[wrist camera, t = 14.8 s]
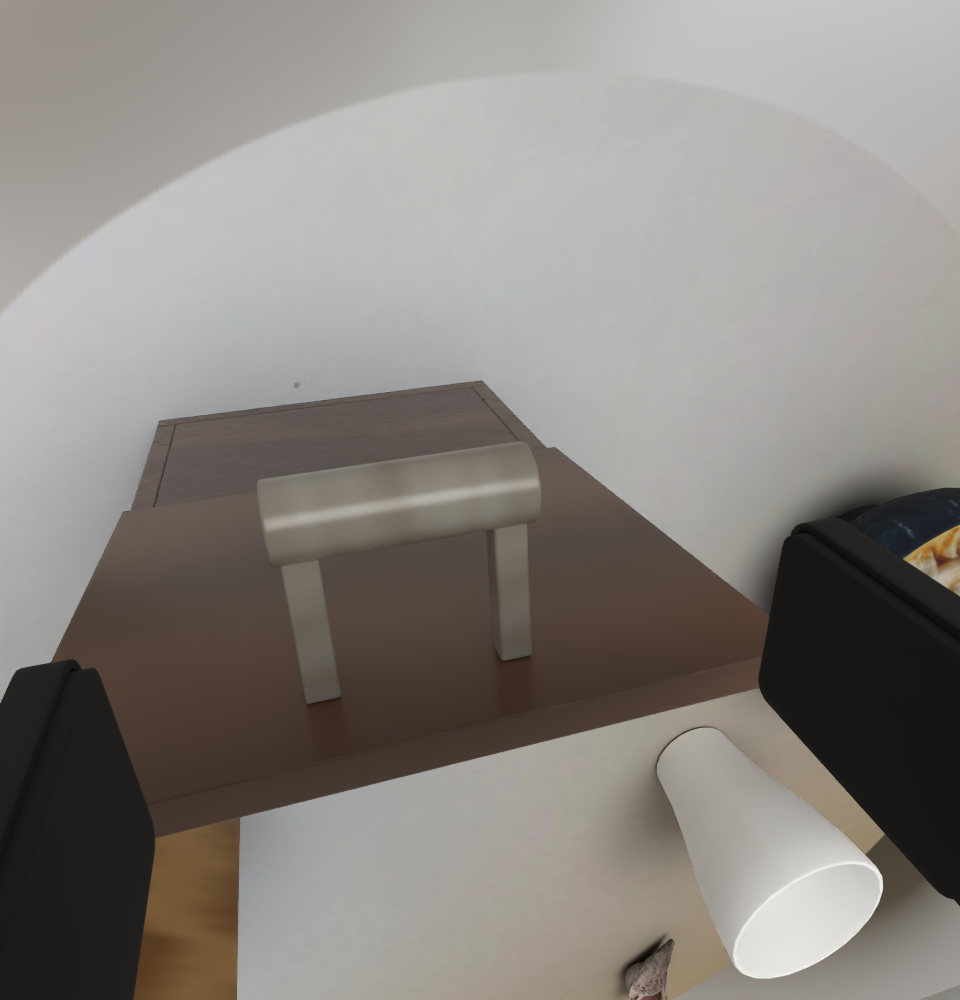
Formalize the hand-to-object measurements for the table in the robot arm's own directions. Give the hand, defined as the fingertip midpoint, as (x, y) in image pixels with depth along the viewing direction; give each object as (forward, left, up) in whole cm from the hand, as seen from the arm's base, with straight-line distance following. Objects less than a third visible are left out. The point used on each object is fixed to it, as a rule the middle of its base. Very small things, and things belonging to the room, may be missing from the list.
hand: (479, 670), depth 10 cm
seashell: (+51, -42, -27) cm, 71 cm away
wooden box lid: (+2, -4, -9) cm, 10 cm away
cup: (+39, -19, -27) cm, 51 cm away
